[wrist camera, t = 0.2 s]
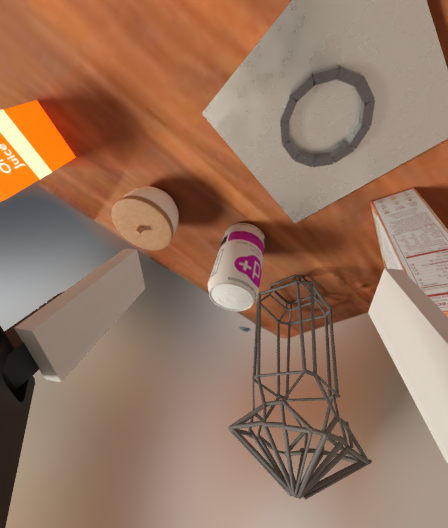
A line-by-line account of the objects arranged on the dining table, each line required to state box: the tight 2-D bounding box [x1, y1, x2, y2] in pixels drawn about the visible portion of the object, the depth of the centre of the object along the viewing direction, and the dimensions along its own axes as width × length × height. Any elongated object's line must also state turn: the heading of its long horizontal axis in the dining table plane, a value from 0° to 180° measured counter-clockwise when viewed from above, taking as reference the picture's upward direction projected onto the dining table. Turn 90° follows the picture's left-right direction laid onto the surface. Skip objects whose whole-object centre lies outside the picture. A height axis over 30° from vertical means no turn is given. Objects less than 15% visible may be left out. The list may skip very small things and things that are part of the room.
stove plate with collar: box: [202, 0, 448, 223], centre depth 28 cm, size 22×22×3 cm
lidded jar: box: [112, 186, 179, 250], centre depth 41 cm, size 11×11×9 cm
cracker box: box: [370, 188, 448, 317], centre depth 30 cm, size 14×6×21 cm, turn 32°
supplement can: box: [208, 223, 266, 311], centre depth 40 cm, size 8×8×15 cm
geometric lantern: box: [229, 275, 372, 499], centre depth 41 cm, size 16×16×35 cm
